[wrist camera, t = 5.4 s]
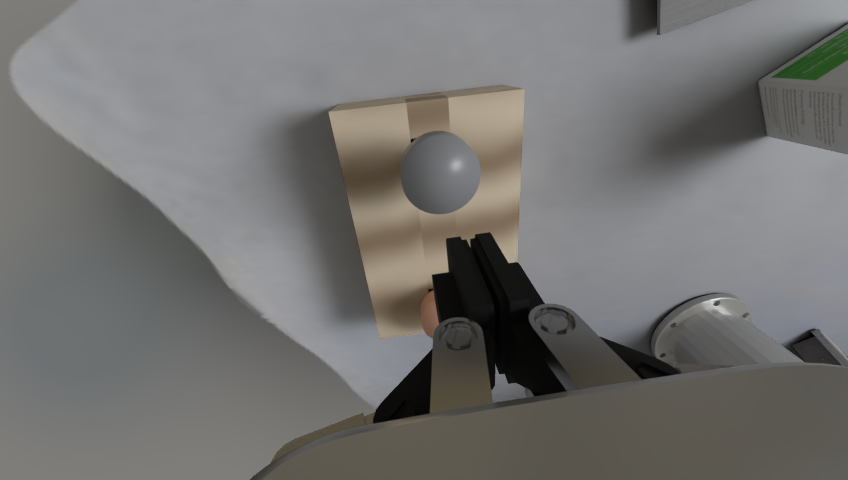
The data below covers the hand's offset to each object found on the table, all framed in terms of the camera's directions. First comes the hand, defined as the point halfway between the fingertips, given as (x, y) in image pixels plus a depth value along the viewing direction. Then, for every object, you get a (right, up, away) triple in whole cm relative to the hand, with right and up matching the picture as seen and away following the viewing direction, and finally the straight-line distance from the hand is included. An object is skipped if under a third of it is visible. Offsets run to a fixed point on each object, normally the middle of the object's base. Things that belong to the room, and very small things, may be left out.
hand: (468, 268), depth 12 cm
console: (-1, +4, +20) cm, 21 cm away
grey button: (-1, +8, +13) cm, 16 cm away
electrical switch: (+56, -15, +36) cm, 68 cm away
